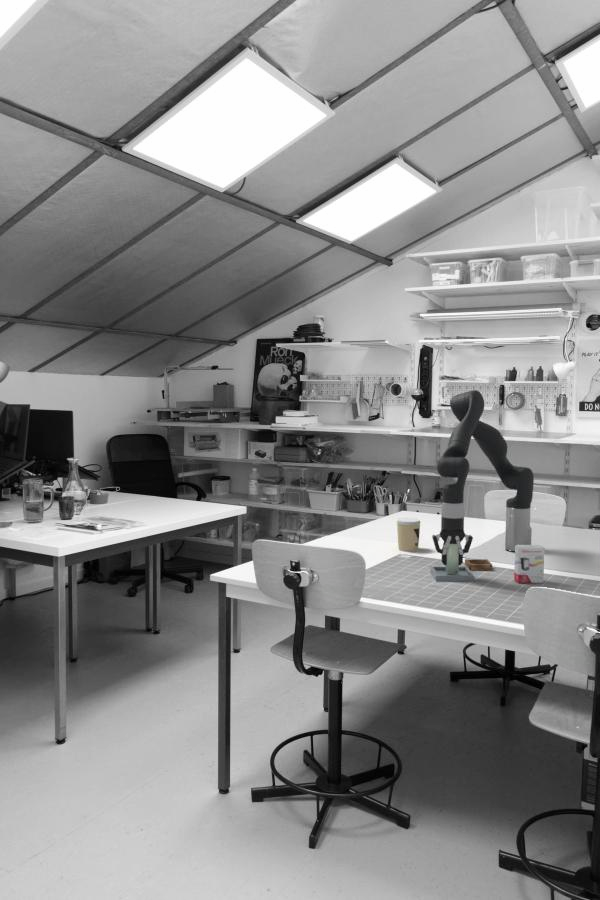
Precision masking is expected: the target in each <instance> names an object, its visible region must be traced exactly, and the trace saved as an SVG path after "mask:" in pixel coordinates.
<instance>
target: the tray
mask: <svg viewBox="0 0 600 900" xmlns="http://www.w3.org/2000/svg"><path fill="white" fill-rule="evenodd" d="M445 568H446V566H444V565H442V566H439V565H437V566H436V565H434V566H432V565H431V566H430V573H431V575H432V577H433V579H434V580H435V582H475V575H474V573H472V572H471V571H472V570H469V569H468V567H466V566H459V573H456V574H450V573H446V572H445Z"/></svg>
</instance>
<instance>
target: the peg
mask: <svg viewBox="0 0 600 900" xmlns="http://www.w3.org/2000/svg"><path fill="white" fill-rule="evenodd" d="M446 555H447V559H446V565H445V567H446V568H445V572H446V573H450V574H456V573H459V567H460V565H459V550H458V544H449V546H448V549H447V551H446Z"/></svg>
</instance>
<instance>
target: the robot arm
mask: <svg viewBox="0 0 600 900" xmlns="http://www.w3.org/2000/svg"><path fill="white" fill-rule="evenodd" d="M449 406H450V409H451V412H452V413H453V415H454V417H455V418H456V419H457V420H458V421H459V423H458V425H457V426H455V428H454V429H453V430H452V432H451V435H450V436H449V440H448V444H447V448H446V449H445V450H444V452H443V453H442V455H441V456H440V458H439V459H438V461H437V466H436V471H437V473H438V475H439V476H441V478H450V479H451V478H452V479H453V478H455V479H456V482H454V483H449V484H445V485H443V487H442V494H441V495H442V497H441V499H442V500H441V501H442V502H441V515H440V517H441V518H440V519H441V520H440V521H441V523H440V526H441V527H440V529H441V530H440V531H439V533H438V534H431V535H432V536H431V538H432V541H433V544H434V547H435V551H436V552H437V553H438V554H440V555H441V563H442V565H443V566H446V559H447V555H446V551H447V549H448V546H449V544H458V550H459V566H462V564H463V563H464V554H467V553H469V551H470V548H471V545H472V542H473V540H474V537H473V536H472V535H471V534H466V533H465V529H464V528H465V506H464V505H465V504H464V498H465V497H464V493H465V485H466V481H467V478H468V475H469V471H470V468H471V467H470V466H471V465H470V463H469V462H470V461H469V460H468V459H467V458H466V457H467V455H468V452H469V449H470V444H471V440H472V438H473V439H474V441H475V442H476V443H477V445H478V447H479V448H480V450H481V451H482V453H483V454H484V455H485V456H486V458H487V459H488V461H489V462H490V463H491V465H492V467H493V468H494V470H495V471H496V473H497V475H498V477H499V479H500V481H501V482H502V484H503V485H504V486H505V488H508V489H509V490H514V491H516V494H515V496H513V497H511V498H508V499H507V500H506V503H505V542H504V549H505V550H506V549H507V550H511V551H515V546H516V545H532V534H533V533H532V530H533V529H532V527H531V504H532V501H533V497H534V493H533V492H534V483H535V482H534V481H535V479H534V478H535V477H534V473H533V470H532V469H531V468H529V467H527V466H526V467H525V466H515V465H513V464H512V463H511V462H510V460H509V459H508V457H507V454H508V444H507V442H506V439H505V438H504V436H503V435H502V434H501V432H500V430H498V429H497V428H496V427H494V426H492V425H491V424H488V423H486V422H483V421H482V420H480V419H481V417H482V415H483V414H484V410H485V399H484V396H483V394H482V393H481V392H480V391H479V390H477V389H474V390H468V391H466V392H462V393H459V394H456V395H453V396H452V397H451V398H450V401H449ZM440 538H441V539H442V541H443V543H442V548H440V545H439V541H440ZM463 540H465V545H464V548H462V541H463ZM507 550H506V551H507ZM511 551H510V552H511Z"/></svg>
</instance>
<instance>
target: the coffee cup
mask: <svg viewBox="0 0 600 900" xmlns="http://www.w3.org/2000/svg"><path fill="white" fill-rule="evenodd" d="M396 525H397V526H396V527H397V544H398V545H397V547H398V551H401V552H408V553H409V552H410V553H412V552H417V551H418V550H419V546H420V545H419V542H420V533H421V532H420V529H421V528H420V527H421V520H420V519H418V518H413V517H401V518H398V519H397V520H396Z"/></svg>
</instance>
